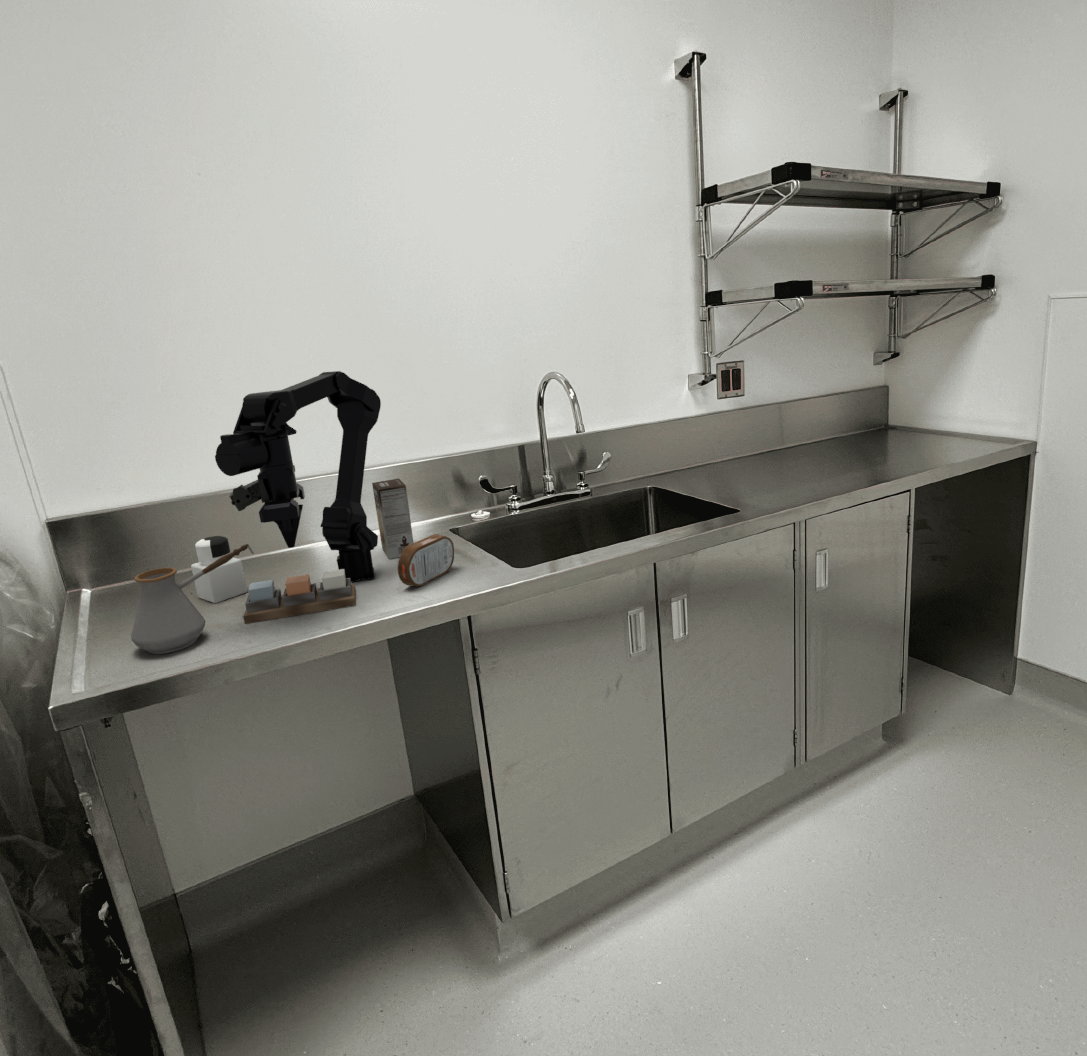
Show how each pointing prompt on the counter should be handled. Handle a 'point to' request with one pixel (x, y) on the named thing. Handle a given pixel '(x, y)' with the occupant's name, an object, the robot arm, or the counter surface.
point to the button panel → (300, 603)
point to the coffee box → (393, 516)
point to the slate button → (262, 590)
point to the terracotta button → (298, 585)
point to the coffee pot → (169, 609)
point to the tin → (426, 560)
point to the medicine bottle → (218, 571)
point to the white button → (334, 579)
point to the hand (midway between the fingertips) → (291, 547)
